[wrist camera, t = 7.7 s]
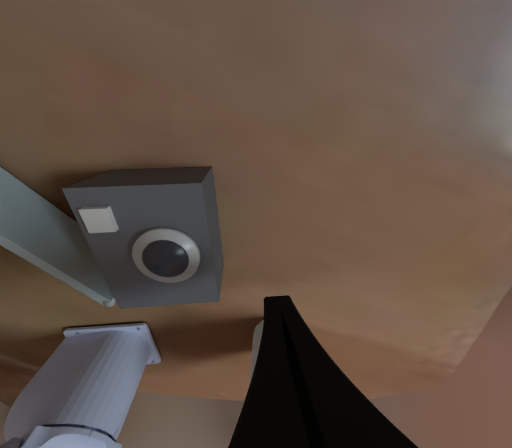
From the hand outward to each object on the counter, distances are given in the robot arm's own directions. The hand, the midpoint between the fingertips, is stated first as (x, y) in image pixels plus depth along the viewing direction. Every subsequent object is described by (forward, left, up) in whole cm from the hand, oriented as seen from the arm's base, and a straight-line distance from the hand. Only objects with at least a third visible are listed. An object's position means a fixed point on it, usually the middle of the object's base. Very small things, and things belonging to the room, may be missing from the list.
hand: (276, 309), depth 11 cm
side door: (-17, +2, -9) cm, 19 cm away
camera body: (-8, +1, -9) cm, 12 cm away
